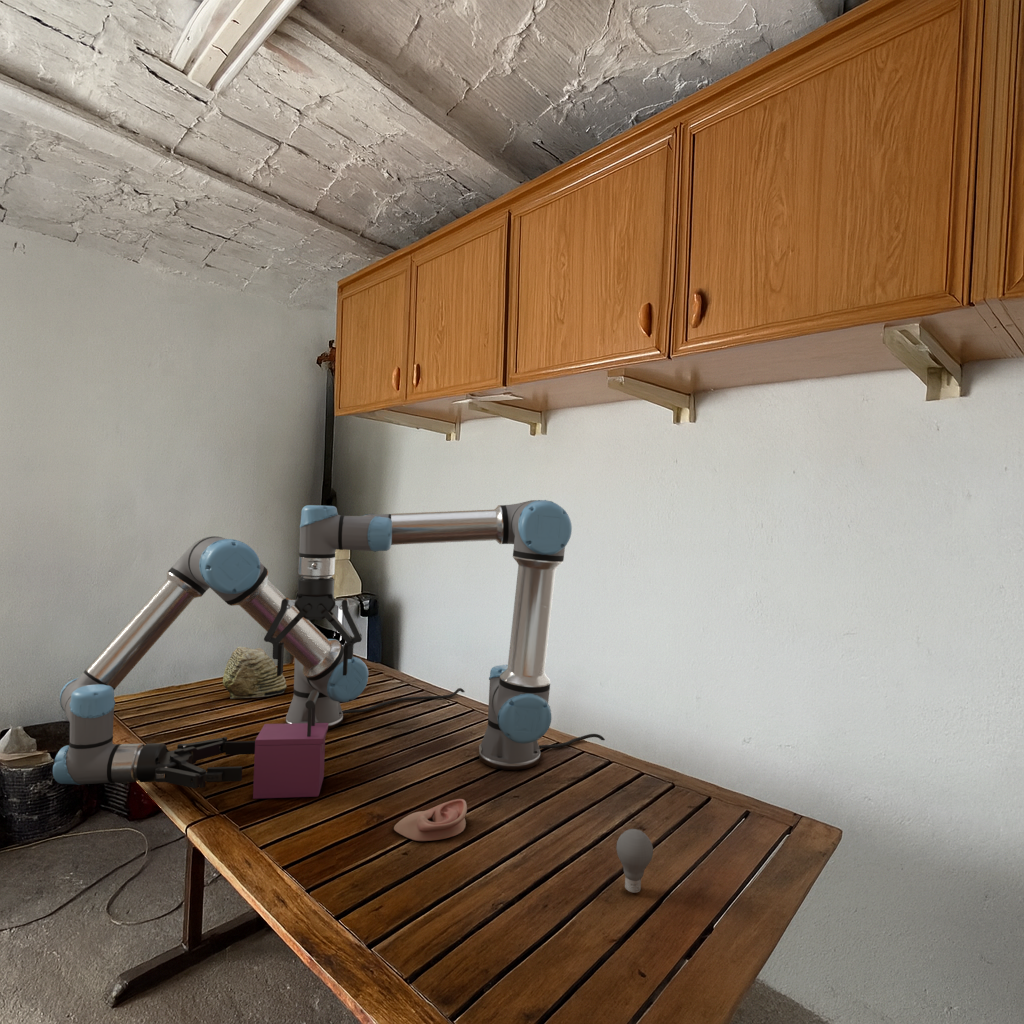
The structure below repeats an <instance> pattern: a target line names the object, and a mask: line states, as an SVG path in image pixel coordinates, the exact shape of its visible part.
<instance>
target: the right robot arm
mask: <svg viewBox="0 0 1024 1024" xmlns="http://www.w3.org/2000/svg"><path fill="white" fill-rule="evenodd" d="M572 529H573V526H572V520H571V518H570V515H569V514H568V512H567V511H566V510H565V508H564V507H562V506H561V505H559V504H558V503H556V502H554V501H552V500H548V499H538V500H537V499H534V500H532V499H531V500H526V501H522V502H518V503H512V504H501V505H497V506H496V507H495V508H494V509H475V510H473V509H472V510H454V511H453V510H452V511H451V510H450V511H449V510H447V511H426V512H425V511H423V512H403V513H398V512H397V513H377V514H376V513H365V514H363V515H342V514H339V512H338V508H337V507H336V506H335V505H320V504H319V505H318V504H317V505H316V504H307V505H305V506H303V507H302V509H301V513H300V524H299V551H298V552H299V553H298V575H299V576H300V577H298V579H297V597H296V598H295V599H292V598H289V597H286V596H285V597H286V598H284V599H283V600H282V602H281V609H280V611H279V613H278V614H277V616H276V618H275V620H274V621H273V623H272V625H271V627H270V629H269V630H268V632H267V631H266V634H265V635H264V638H263V641H264V642H266V643H270V644H272V660H277V664H276V668H277V676H281V675H283V673H284V657H285V648H284V643H280V641H281V640H282V639H283V638H284V637H285V636H286V635H287V634H288V632H289V631H290V630H291V629H292V628H293V627H294V626H295V625H296V624H297V623H298V622H299V621H300V620H301V619H302V618H303V617H304V618H305V619H307V620H309V621H312V620H317V621H322V620H325V619H326V621H327V622H328V623H329V624H330V625H332V627H333V628H334V629H335V630H336V632H337V633H338V634H339V636H341V638H342V639H343V640H344V641H345V642H344V644H343V646H344V656H343V675H347V667H348V659H352V657H353V656H354V646H355V644H357V643H361V642H362V640H363V635H362V633H361V631H360V629H359V627H358V625H357V622H356V620H355V618H354V616H353V614H352V612H351V610H350V603H349V599H348V598H347V597H344V598H343V599H335V578H334V577H333V576H334V575H335V573H336V571H335V570H336V550H340V551H343V550H344V551H345V550H346V551H365V552H368V551H369V552H388V551H390V550H391V548H392V546H396V545H417V544H419V545H421V544H444V543H445V544H446V543H463V542H464V543H466V542H467V543H468V542H491V541H494V542H495V541H496V542H497V543H498V544H499V545H513V551H512V558H513V559H514V560H515V562H516V563H517V566H518V568H517V574H516V575H517V576H516V584H515V585H516V586H515V593H514V604H513V611H512V612H513V613H512V621H511V622H512V623H511V629H510V630H511V631H510V632H511V633H510V641H509V650H508V659H507V664H498V665H494V666H493V667H491V669H490V670H489V673H490V674H489V677H488V680H489V689H488V709H487V711H488V713H487V726H486V730H485V732H484V735H483V737H482V741H481V743H479V745H478V758H479V760H480V761H481V763H483V764H485V765H486V766H488V767H491V768H493V769H498V770H505V771H521V770H527V769H530V768H532V767H534V766H537V765H538V764H539V763H540V761H541V750H543V749H545V750H546V749H561V748H564V747H567V746H570V745H572V744H574V743H576V742H580V741H582V740H583V741H584V740H587V739H591V738H598V739H599V740H600V741H606V739H605V738H604V737H603V736H602V735H601V734H598V733H588V734H585V735H582V736H579V737H574V738H572V739H570V740H568V741H566V742H561V743H557V744H556V743H555V744H540V745H539V741H538V740H539V739H541V738H542V737H543V736H545V735H546V733H547V732H548V731H549V729H550V727H551V723H552V710H551V706H550V704H549V700H550V690H551V679H550V677H548V676H547V674H546V665H547V654H548V647H549V645H548V644H549V637H550V636H549V635H550V626H551V619H552V608H553V600H554V599H553V598H554V589H555V582H556V581H555V580H556V571H557V569H558V567H559V566H561V565H562V564H563V563H564V559H565V551H566V546H567V545H568V543H569V542H570V540H571V536H572V533H573V532H572V531H573V530H572ZM292 605H294V606H295V607H296V608H297V609H298V610H299V613H298V614H297V615H296V617H295V618H294V619H293V620H292V621H291V622H290V623H289V624H288V625H287V626H286V627H285V628H284V629H283V630H282V632H281V633H280V634H279V635H278V636H277V637H275V636H273V635H274V633H275V631H276V629H277V628H278V626H279V624H280V622H281V621H282V619H283V617H284V615H285V613H286V612H287V610H288V609H290V608H291V607H292ZM335 606H337V607H338V609H339V610H340V611H342V614H343V616H344V618H345V620H346V623H347V624H348V626H349V628H350V631H351V633H352V634H351V633H350V632H349V630H348V629H346V627H345V626H344V625H343V624H342V623H341V622H340V620H339V619H338V617H337V616H336V614H334V612H333V609H334V608H335ZM352 635H353V636H352Z"/></svg>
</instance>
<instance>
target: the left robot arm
mask: <svg viewBox="0 0 1024 1024" xmlns="http://www.w3.org/2000/svg"><path fill="white" fill-rule="evenodd" d="M209 589H210V590H211V591H213V592H214V593H215V594H216V595H217V596H218V597H219V598H220V599H221V600H223V602H225V603H226V604H227V605H228V606H231V607H233V606H240V608H241V609H242V610H243V611H244V612H245V613H247V614H248V615H249V616H250V617H251V618H252V619H253V620H254V621H255V622H257V624H258V625H259V626H261V628H262V629H264V630H265V631H266V633H267V632H268V630H269V629H270V627H271V625H272V623H273V621H274V620H275V618H276V616H277V614H278V613H279V611H280V609H281V602H282V600H283V599H284V598H286V596H285V595H284V594H283V592H281V591H280V590H279V589H278V588H277V587H276V586H275V585H274V584H273V583H272V582H271V581H270V580H269V569H268V568H266V566H265V565H264V564H263V563H261V560H260V558H259V555H258V554H257V552H256V551H255V550H254V549H253V548H252V547H251V546H250V545H248V544H247V543H246V542H243V541H241V540H237V539H234V538H225V537H223V536H213V535H212V536H205V537H203V538H201V539H199V540H197V541H195V542H194V543H193V544H192V545H190V546H189V547H188V548H187V549H186V551H185V552H184V553H183V554H182V555H181V556H180V557H179V558H178V559H177V560H176V562H175V563H174V564H173V565H172V566H171V567H170V569H168V571H167V572H166V580H165V581H163V583H162V584H161V585H160V586H159V587H158V588H157V590H156V591H155V592H154V593H153V594H152V595H151V596H150V597H149V598H148V600H147V601H146V602H145V603H144V604H143V605H142V606H141V607H140V608H139V610H138V611H137V612H136V613H135V614H134V615H133V616H132V618H130V619H129V621H128V622H127V623H126V624H125V625H124V626H123V628H121V630H120V631H119V632H118V633H117V634H116V635H115V636H114V637H113V639H112V640H111V641H110V642H109V643H107V645H106V646H105V648H104V649H102V651H101V652H100V653H99V654H98V656H96V657H95V658H94V659H93V660H92V662H91V663H90V664H89V665H88V666H87V668H85V670H84V671H83V672H82V673H81V674H80V675H79V676H78V677H76V678H74V679H72V680H70V681H68V682H67V683H65V684H64V685H63V687H62V688H61V690H60V693H59V704H60V708H61V710H62V711H63V712H64V713H65V716H66V718H67V720H68V722H69V744H67V745H64V746H63V747H61V748H60V749H59V751H58V752H57V753H56V755H55V757H54V764H53V765H52V776H53V778H54V780H55V782H56V783H58V784H60V785H78V786H83V785H93V784H94V785H95V784H97V785H99V784H119V783H121V784H122V783H123V785H128V784H129V783H137V782H140V783H167V784H171V785H177V786H182V787H185V788H191V789H203V788H205V787H206V783H225V782H226V783H228V782H242V780H243V766H240V765H239V766H211V767H210V766H209V767H207V769H205V768H202V767H199V766H197V765H195V764H196V763H197V762H198V761H200V760H205V759H207V758H212V757H215V756H219V755H222V754H225V756H236V755H237V756H238V755H239V756H241V755H242V756H243V755H255V740H237V741H233V740H232V741H228V737H227V736H222V737H217V738H213V739H207V740H206V739H205V740H202V741H196V742H190V743H178V744H177V746H176V749H174V750H169V749H168V747H167V744H165V743H163V742H161V743H160V742H157V743H155V742H153V743H145V744H144V743H140V742H139V743H114V742H113V741H114V720H115V719H114V717H115V706H116V699H115V690H116V689H117V687H118V686H119V685H120V684H121V683H122V681H123V680H124V679H125V678H126V677H127V676H128V675H129V674H130V673H131V671H132V670H133V669H134V668H135V667H136V665H137V664H138V663H139V662H140V661H141V660H142V659H143V658H144V656H145V655H146V654H147V653H148V652H149V651H150V650H151V648H152V647H153V646H154V645H155V644H156V642H157V641H159V639H160V638H161V637H162V636H163V635H164V633H166V631H168V629H169V628H170V627H171V626H172V624H173V623H174V622H175V621H176V620H177V619H178V617H179V616H180V615H182V613H183V612H184V611H185V610H186V608H188V607H189V605H190V604H191V603H192V602H193V601H194V599H196V598H202V597H203V595H204V594H205V593H206V592H207V591H208V590H209ZM298 613H299V610H298V609H297V608H296V606H295V605H292V607H291V608H290V609H288V610H287V612H286V613H285V615H284V617H283V619H282V621H281V622H280V624H279V626H278V628H277V629H276V631H275V633H274V635H273V636H275V637H277V636H278V635H279V634H280V633H281V632H282V630H283V629H284V628H285V627H286V626H287V625H288V624H289V623H290V622H291V621H292V620H293V619H294V618H295V617H296V615H297V614H298ZM280 643H284V650H286V652H288V653H289V654H290V655H291V656H292V657H293V658H294V672H293V695H292V696H293V697H292V699H291V702H290V704H289V708H288V711H287V713H286V715H285V724H293V723H308V709H307V708H306V706H305V704H306V701H307V699H308V697H309V695H310V693H311V691H313V690H317V691H318V692H319V696H318V698H317V701H316V709H315V723H328V730H327V731H329V730H332V729H335V728H337V727H339V726H340V725H342V723H343V722H344V715H346V714H357V713H358V714H359V713H367V712H369V711H373V710H375V709H378V708H380V707H384V706H387V705H390V704H394V703H399V702H405V701H417V700H419V701H420V700H422V701H423V700H436V699H437V700H441V699H449V698H452V697H455V696H456V695H458V693H459V692H461V693H465V692H466V691H465V690H464V689H463V688H462V687H459V688H457V689H456V690H455V691H453V692H452V693H450V694H444V695H426V696H425V695H424V696H407V697H400V698H395V699H391V700H387V701H384V702H381V703H378V704H377V703H376V704H375V705H372V706H369V707H366V708H359V709H346V710H343V709H342V706H341V703H342V704H344V703H350V702H353V701H354V700H355V699H357V698H358V697H359V696H360V695H362V693H363V692H364V691H365V689H366V687H367V684H368V681H369V668H368V666H367V664H366V663H365V662H364V661H363V660H362V659H361V658H359V657H357V656H354V655H353V657H352V659H348V667H347V675H343V656H344V644H342V643H341V642H340V641H339V640H338V639H336V638H327V637H326V636H325V635H324V633H322V632H321V631H320V630H319V629H318V628H317V626H315V625H314V624H313V623H312V622H311V620H307V619H305V618H304V617H303V618H302V619H301V620H300V621H299V622H298V623H297V624H296V625H295V626H294V627H293V628H292V629H291V630H290V631H289V632H288V634H287V635H286V636H285V637H284V638H283V639H282V640H281V641H280Z"/></svg>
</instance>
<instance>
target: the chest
mask: <svg viewBox="0 0 1024 1024" xmlns="http://www.w3.org/2000/svg"><path fill="white" fill-rule="evenodd" d="M325 753H326V739H325V740H324V743H323V744H301V745H255V754H254V763H253V765H254V766H253V786H252V787H253V791H252V799H254V800H256V799H257V800H260V799H261V800H262V799H287V798H288V799H289V798H309V797H312V798H313V797H317V798H318V797H319V795H320V792H321V789H322V785H323V781H324V778H325V756H326V755H325Z"/></svg>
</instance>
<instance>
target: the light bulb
mask: <svg viewBox="0 0 1024 1024" xmlns="http://www.w3.org/2000/svg"><path fill="white" fill-rule="evenodd" d="M615 849H616V854H617V857H618V859H619V861H620V863H621V865H622V867H623V873H624V874H623V875H624V876H625V878H624V888H625V890H627V891H628V892H630V893H634V894H635V893H639V892H640V891H641V889H642V887H641V886H642V879H643V877H644V875H645V871H646V868H647V867H648V866H649V864H650V863H651V861H652V859H653V855H654V847H653V843H652V841H651V838H649V836H648V835H647V834H646V833H645V832H643V831H642V830H641V829H636V828H629V829H627V830H625V831H623V832H622V833H621V834H620V835H619V837H618V839H617V841H616V847H615Z"/></svg>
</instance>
